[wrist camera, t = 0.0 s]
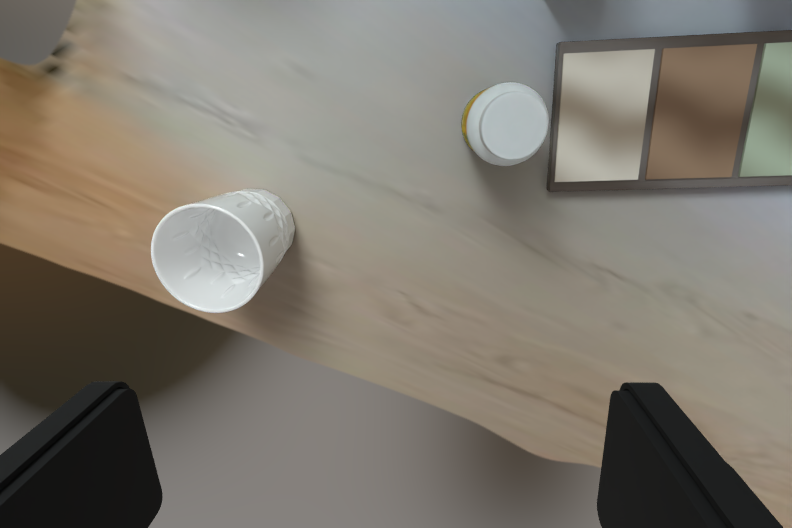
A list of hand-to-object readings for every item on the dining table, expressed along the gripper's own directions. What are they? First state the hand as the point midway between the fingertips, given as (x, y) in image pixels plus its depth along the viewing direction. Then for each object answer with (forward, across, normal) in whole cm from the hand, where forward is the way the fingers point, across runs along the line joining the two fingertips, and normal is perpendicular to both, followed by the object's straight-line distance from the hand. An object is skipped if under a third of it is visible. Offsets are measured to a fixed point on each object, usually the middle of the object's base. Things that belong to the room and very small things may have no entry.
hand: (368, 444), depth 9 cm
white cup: (+31, +14, +3) cm, 35 cm away
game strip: (+31, -22, -5) cm, 38 cm away
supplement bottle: (+31, -6, -5) cm, 32 cm away
